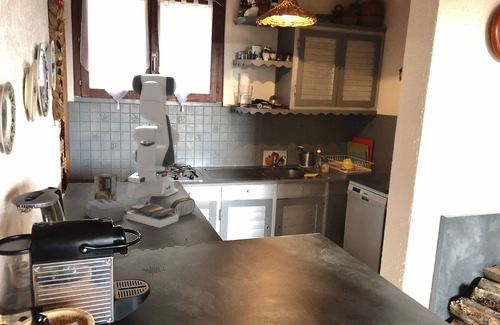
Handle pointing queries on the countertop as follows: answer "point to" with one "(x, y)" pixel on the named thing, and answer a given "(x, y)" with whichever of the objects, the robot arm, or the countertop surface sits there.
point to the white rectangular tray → (152, 218)
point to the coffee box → (105, 186)
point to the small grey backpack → (104, 209)
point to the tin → (183, 206)
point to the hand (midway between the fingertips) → (145, 204)
